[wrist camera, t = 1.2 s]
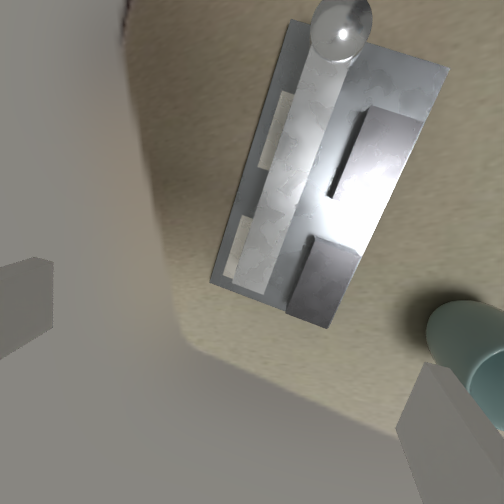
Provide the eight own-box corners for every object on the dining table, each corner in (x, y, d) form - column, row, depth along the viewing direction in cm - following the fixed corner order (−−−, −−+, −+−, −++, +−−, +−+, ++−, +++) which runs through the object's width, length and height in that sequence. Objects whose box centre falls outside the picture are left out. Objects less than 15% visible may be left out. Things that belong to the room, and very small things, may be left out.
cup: (410, 353, 32) (457, 428, 23) (419, 287, 30) (474, 339, 21) (489, 359, 31) (573, 441, 21) (503, 290, 29) (603, 347, 19)
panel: (291, 25, 26) (289, -2, 22) (443, 72, 25) (470, 53, 21) (212, 278, 34) (200, 292, 30) (327, 322, 33) (331, 342, 29)
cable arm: (321, 5, 22) (323, -19, 19) (372, 21, 21) (382, -1, 19) (232, 271, 28) (225, 282, 26) (271, 286, 28) (268, 298, 25)
